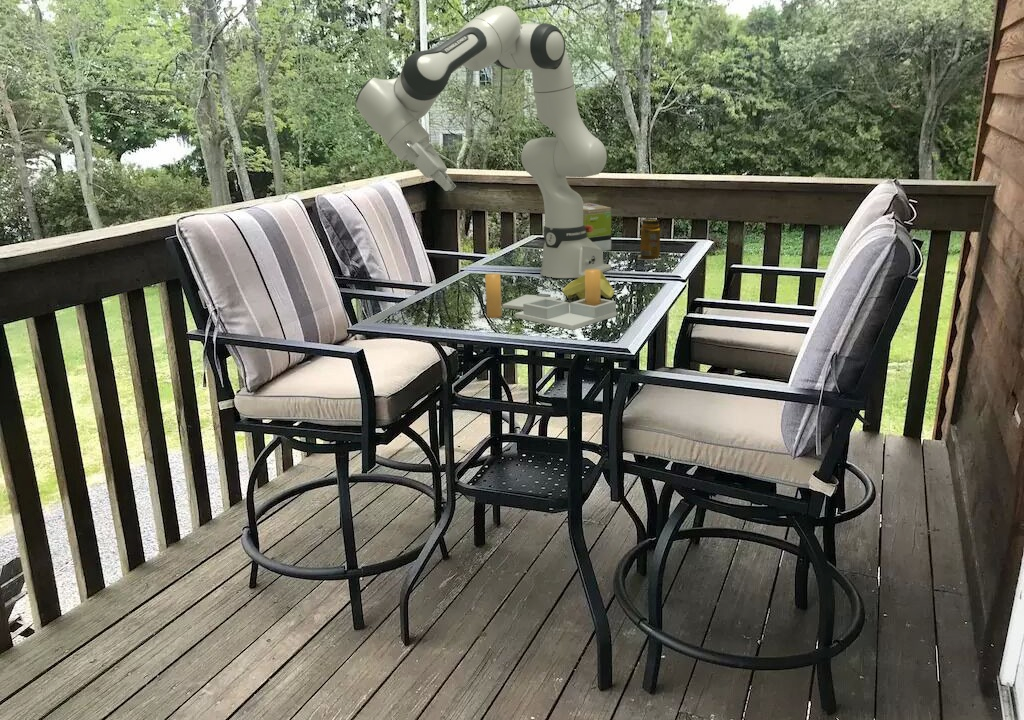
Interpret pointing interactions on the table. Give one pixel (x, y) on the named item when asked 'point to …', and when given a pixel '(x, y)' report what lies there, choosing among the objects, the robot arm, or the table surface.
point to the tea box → (598, 224)
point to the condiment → (650, 240)
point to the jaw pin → (493, 295)
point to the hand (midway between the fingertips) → (451, 189)
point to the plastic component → (578, 288)
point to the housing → (572, 307)
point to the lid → (526, 300)
